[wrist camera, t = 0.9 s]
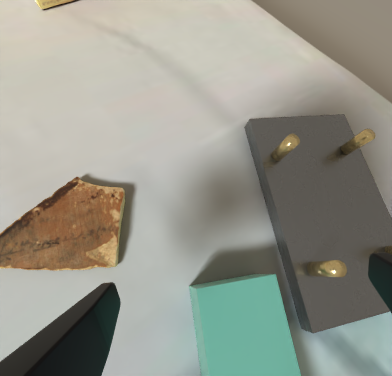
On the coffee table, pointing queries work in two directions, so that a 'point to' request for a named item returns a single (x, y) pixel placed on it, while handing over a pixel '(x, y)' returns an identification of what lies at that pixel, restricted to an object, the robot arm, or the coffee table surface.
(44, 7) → the candy box
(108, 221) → the shard
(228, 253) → the coffee table surface
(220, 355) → the green rectangular block
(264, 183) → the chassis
